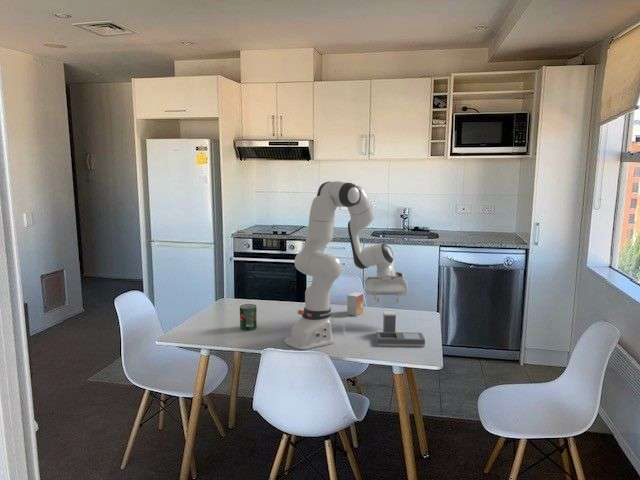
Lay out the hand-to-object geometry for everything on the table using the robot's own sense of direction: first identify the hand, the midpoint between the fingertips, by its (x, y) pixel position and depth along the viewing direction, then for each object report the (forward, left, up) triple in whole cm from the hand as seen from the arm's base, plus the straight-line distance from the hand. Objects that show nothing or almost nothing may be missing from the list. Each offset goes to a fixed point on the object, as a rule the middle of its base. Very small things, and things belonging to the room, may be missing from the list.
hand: (387, 302), depth 229 cm
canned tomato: (-48, +45, -13) cm, 67 cm away
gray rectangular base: (-11, -16, -13) cm, 23 cm away
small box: (+7, +27, -13) cm, 31 cm away
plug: (-6, -6, -13) cm, 15 cm away
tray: (-6, -6, -13) cm, 16 cm away
